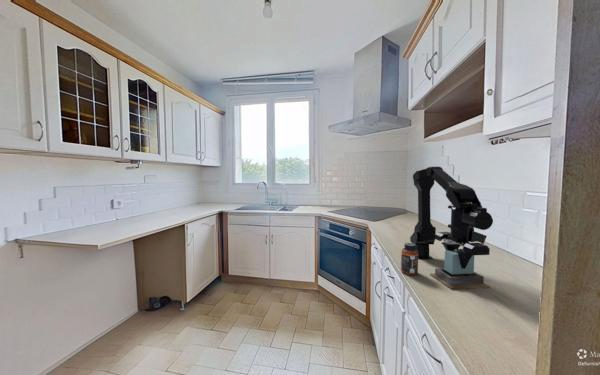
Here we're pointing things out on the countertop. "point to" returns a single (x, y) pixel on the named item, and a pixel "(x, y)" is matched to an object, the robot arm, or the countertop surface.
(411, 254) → the supplement bottle
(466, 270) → the cabinet block
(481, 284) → the socket board
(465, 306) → the countertop surface
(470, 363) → the countertop surface
